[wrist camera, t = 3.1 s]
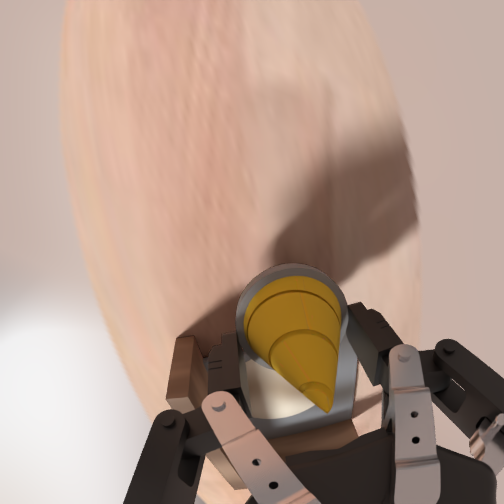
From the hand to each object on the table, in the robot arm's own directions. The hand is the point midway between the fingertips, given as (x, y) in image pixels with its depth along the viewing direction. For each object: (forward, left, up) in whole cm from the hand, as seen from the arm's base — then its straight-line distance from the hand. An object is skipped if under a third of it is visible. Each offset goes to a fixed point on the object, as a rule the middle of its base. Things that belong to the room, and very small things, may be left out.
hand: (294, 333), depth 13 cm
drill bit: (0, 0, -4) cm, 4 cm away
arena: (-3, +4, -4) cm, 6 cm away
